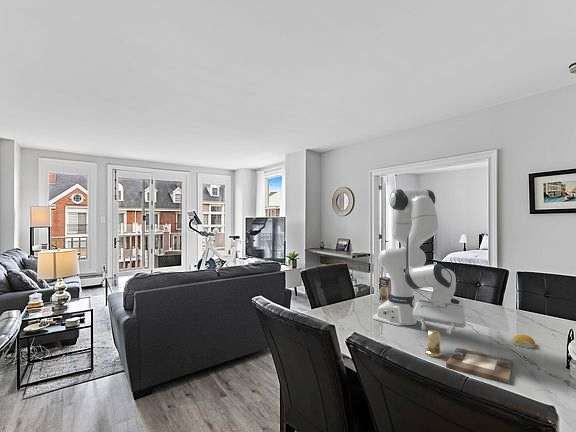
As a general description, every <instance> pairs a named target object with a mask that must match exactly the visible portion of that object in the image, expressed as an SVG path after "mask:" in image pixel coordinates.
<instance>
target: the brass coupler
mask: <svg viewBox="0 0 576 432" xmlns="http://www.w3.org/2000/svg"><path fill="white" fill-rule="evenodd" d="M424 352H425V355H426V356H428V357H430V358H433V359H440V358H442V357H443V356H444V354H443V351H442V350H441V332H440V331H438V330H433V329H430V330H429V329H428V330H427V348H425V351H424Z"/></svg>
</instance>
